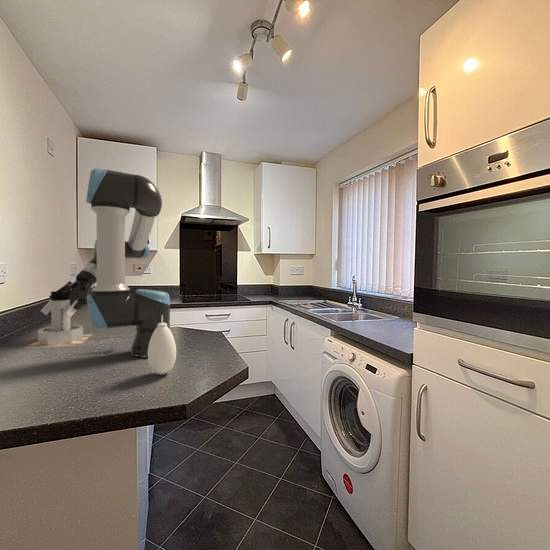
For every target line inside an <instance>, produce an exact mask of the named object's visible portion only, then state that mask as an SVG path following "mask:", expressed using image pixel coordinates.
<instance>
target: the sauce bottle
mask: <svg viewBox="0 0 550 550" xmlns="http://www.w3.org/2000/svg"><path fill="white" fill-rule="evenodd" d="M157 326H158V327H157V328H156V329H155V330H154V332H153V334H152V336H151V339H150V342H149V346H148V358H147V361H148V366H149V367H150V369H151V371H152V372H153V373H155V374H156V373H163V372H167V371H169V372H170V371H171V370H172V369H173V368H174V366H175V363H176V360H177V359H176V358H177V345H176V342H175V338H174V336H173V333H172V331H171V328H170V329H169V328H168V327H167V324H166V323H163V315H162V318H161V323H159V324H158V325H157Z"/></svg>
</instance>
